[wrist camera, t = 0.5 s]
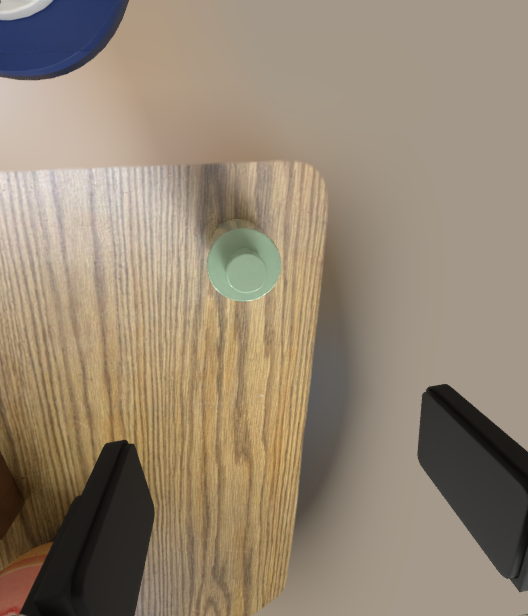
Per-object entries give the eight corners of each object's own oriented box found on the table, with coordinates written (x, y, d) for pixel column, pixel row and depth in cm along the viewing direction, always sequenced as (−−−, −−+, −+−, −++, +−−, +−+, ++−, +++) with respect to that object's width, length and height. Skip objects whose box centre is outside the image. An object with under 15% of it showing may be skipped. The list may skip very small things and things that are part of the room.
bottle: (206, 221, 27) (199, 236, 18) (263, 215, 27) (285, 227, 18) (214, 276, 29) (211, 316, 19) (267, 270, 29) (289, 307, 20)
